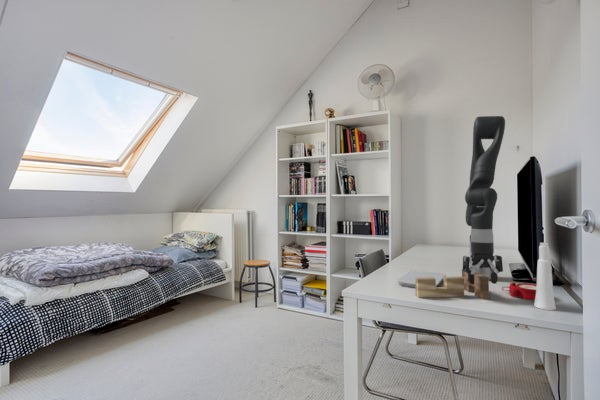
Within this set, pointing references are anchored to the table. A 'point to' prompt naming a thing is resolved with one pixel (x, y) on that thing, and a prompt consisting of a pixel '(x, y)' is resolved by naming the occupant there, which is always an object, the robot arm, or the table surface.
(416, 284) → the oak slotted rail
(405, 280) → the tablet
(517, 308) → the table surface
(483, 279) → the walnut cross plate
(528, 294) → the alarm clock
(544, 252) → the cosmetic bottle
